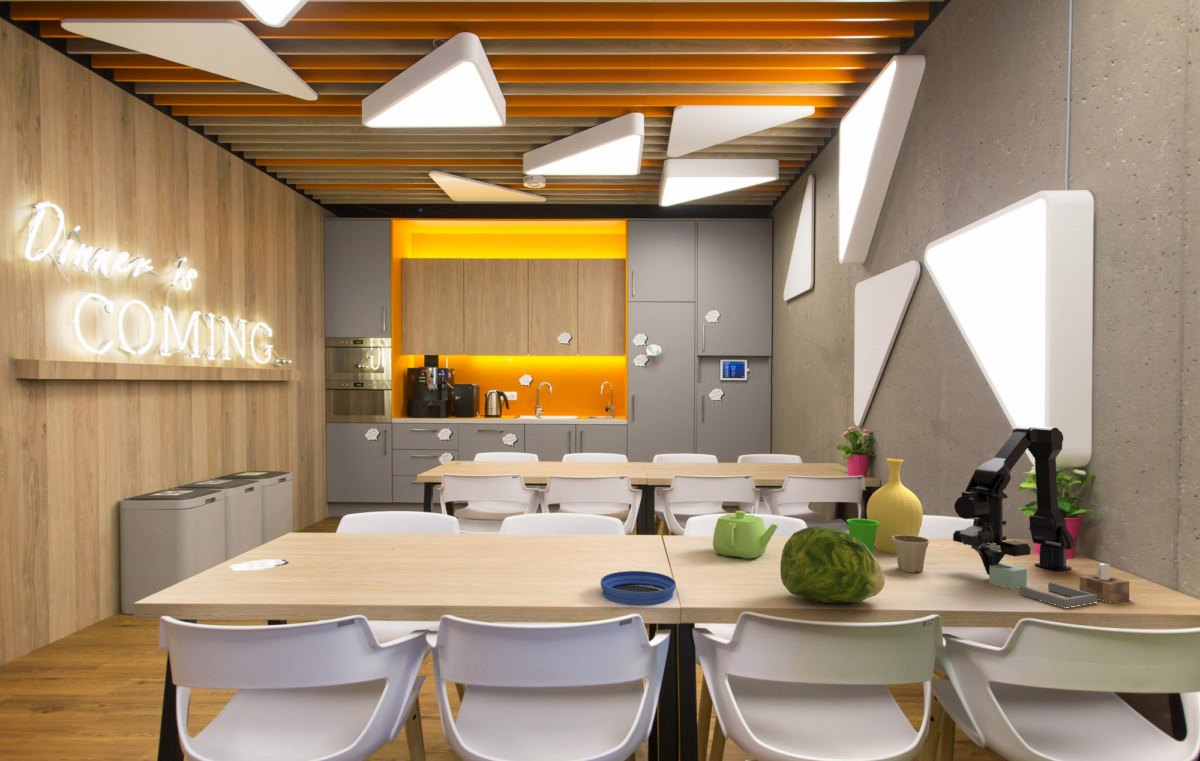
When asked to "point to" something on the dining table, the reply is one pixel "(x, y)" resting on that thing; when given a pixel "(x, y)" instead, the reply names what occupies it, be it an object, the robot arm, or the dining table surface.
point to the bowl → (637, 587)
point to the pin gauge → (1104, 571)
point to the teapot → (741, 535)
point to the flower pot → (910, 552)
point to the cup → (864, 531)
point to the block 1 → (1008, 575)
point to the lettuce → (830, 566)
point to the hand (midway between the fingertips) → (989, 574)
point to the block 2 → (1105, 588)
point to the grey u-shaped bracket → (1075, 599)
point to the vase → (894, 510)
